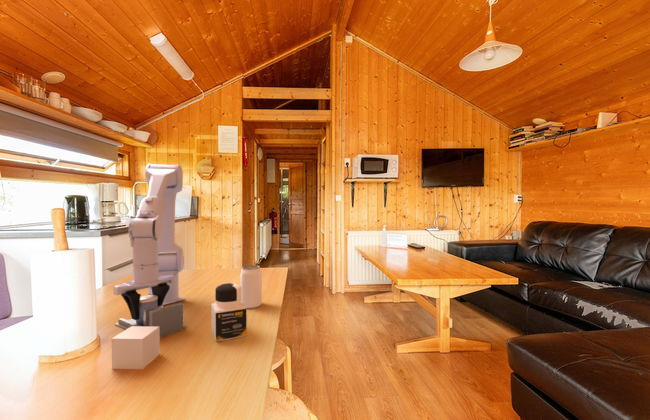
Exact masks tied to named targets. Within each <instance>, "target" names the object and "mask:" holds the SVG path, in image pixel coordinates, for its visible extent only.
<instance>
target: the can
mask: <svg viewBox="0 0 650 420" xmlns="http://www.w3.org/2000/svg"><path fill="white" fill-rule="evenodd" d="M239 274H240V276H239V280H240V282H239V285H240V286H241V301H242V303H243V304H244V305H245V306H246V309H247V310H249V309H256V308H260V306H261V305H262V297H263V295H262V294H263V292H262V289H263V288H262V287H263V284H262V283H263V282H262V281H263V280H262V278H263V277H262V276H263V275H262V274H263V273H262V270H261V266H260V265H256V264H255V265H253V264H250V265H243V266H242V267H241V270H240V273H239Z"/></svg>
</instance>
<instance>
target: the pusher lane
mask: <svg viewBox="0 0 650 420" xmlns="http://www.w3.org/2000/svg"><path fill="white" fill-rule="evenodd" d="M149 317H150V327H159V331H160V338H163V337H165V336H168V335H171V334H174V333H176V332H179V331H181V330H184V329H187V326H186V325H184V303H182V302H179V303H175V304H172V305H169V306H165V307H164V306H163V308H161V309H157V310H154V311H150V312H149ZM117 319H118V322H116V323H115V324H114V325H115V326H116V327H119V328H121V329H123V330H124V331H125V330H126V329H128V328H130V327H131V326H140V325H138V324H136V320H134V319H132V318H131V319H125V318H122V317H121V318H120V317H119V318H117Z"/></svg>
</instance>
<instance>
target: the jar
mask: <svg viewBox="0 0 650 420" xmlns="http://www.w3.org/2000/svg"><path fill="white" fill-rule="evenodd" d="M154 306H158V296H156V295H143V296H140V301H139V319H138V320H136V324H138V325H140V326H143V309H147V308H151V307H154Z"/></svg>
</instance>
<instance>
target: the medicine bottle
mask: <svg viewBox="0 0 650 420" xmlns="http://www.w3.org/2000/svg"><path fill="white" fill-rule="evenodd" d="M214 289H215V293H214V294H215V296H214V297H215V302H211V304H210V305H211V307H210V308H211V312H210V314H211V320H210V321H211V323H210V324H211V326H210V327H211V333H212V336H213V338H214V340H215V342H217V343H218V342H222V341H223V342H224V341H229V340H234V339H239V338H245V337H247V332H248V330H247V325H248V324H247V321H248V320H247V319H248V318H247V315H248V314H247V308H246V306H245V305H244V304H243V303H242V301H241V286H240V284H238V283H232V282H229V283H222V284H220V285H218V286H216V288H214Z"/></svg>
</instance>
